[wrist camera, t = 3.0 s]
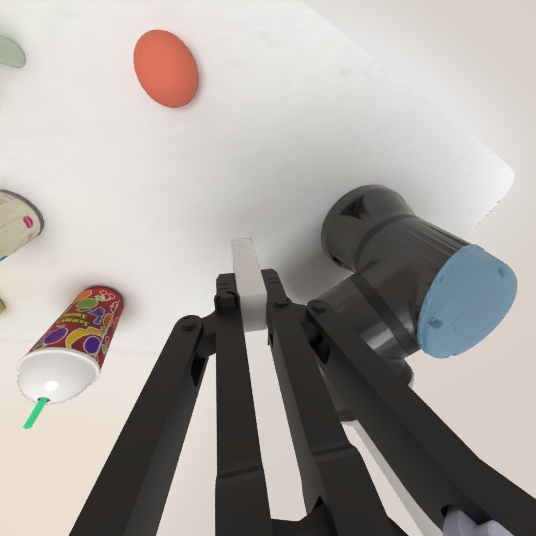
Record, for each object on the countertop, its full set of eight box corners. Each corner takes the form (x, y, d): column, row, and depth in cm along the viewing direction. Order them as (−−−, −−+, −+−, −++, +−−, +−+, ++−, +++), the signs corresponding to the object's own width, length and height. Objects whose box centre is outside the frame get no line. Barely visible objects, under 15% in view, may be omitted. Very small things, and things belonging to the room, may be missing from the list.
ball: (197, 44, 25) (193, 27, 20) (201, 110, 28) (198, 110, 23) (137, 34, 24) (117, 13, 19) (148, 104, 27) (133, 102, 22)
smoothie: (105, 272, 38) (21, 395, 21) (141, 305, 42) (94, 426, 26) (61, 293, 38) (-54, 428, 22) (101, 323, 43) (31, 452, 26)
